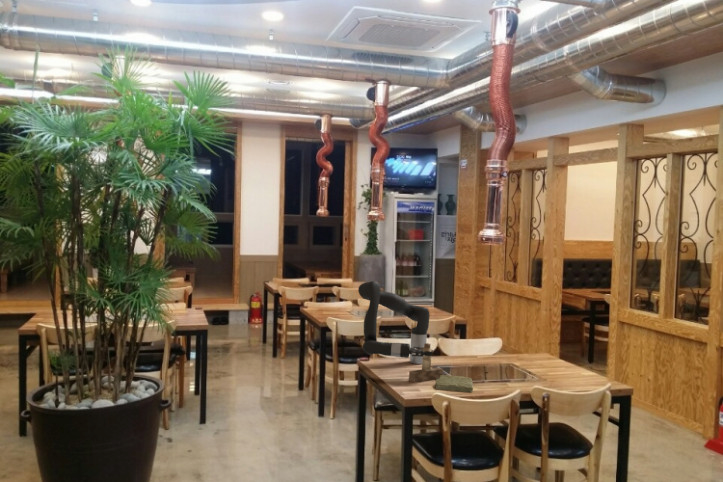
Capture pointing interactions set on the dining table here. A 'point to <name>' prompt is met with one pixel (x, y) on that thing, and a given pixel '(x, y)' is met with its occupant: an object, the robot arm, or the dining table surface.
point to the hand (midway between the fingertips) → (432, 352)
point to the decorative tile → (454, 383)
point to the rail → (425, 375)
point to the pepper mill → (426, 358)
